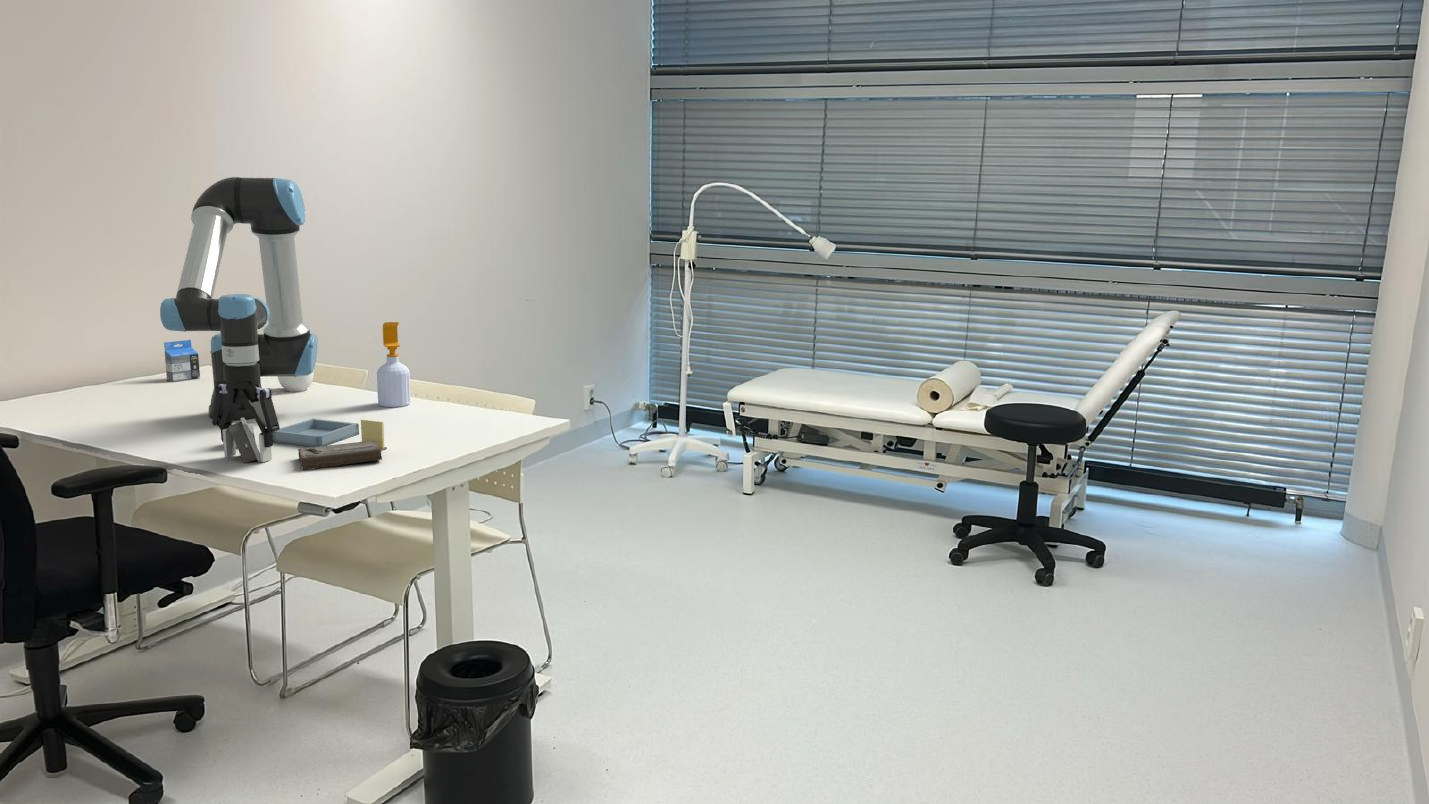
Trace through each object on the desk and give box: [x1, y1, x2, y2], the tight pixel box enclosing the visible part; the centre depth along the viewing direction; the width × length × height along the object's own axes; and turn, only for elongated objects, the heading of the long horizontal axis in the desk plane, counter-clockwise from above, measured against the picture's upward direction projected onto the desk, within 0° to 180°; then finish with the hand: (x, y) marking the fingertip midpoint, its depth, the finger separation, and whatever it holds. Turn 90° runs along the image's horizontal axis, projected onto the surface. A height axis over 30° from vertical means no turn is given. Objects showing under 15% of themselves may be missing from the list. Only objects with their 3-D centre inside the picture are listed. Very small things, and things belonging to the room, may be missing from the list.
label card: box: [360, 419, 388, 452], centre depth 235 cm, size 6×2×7 cm, turn 73°
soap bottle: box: [376, 321, 412, 408], centre depth 282 cm, size 9×9×25 cm
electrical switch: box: [229, 417, 261, 464], centre depth 223 cm, size 9×5×9 cm, turn 30°
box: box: [297, 440, 383, 471], centre depth 225 cm, size 11×17×3 cm, turn 117°
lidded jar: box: [276, 369, 315, 393], centre depth 299 cm, size 11×11×9 cm
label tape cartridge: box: [163, 339, 201, 383], centre depth 309 cm, size 9×4×12 cm, turn 147°
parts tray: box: [272, 417, 360, 448], centre depth 244 cm, size 14×15×3 cm
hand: (248, 458), depth 224 cm, fingers closed on electrical switch, 9 cm apart
